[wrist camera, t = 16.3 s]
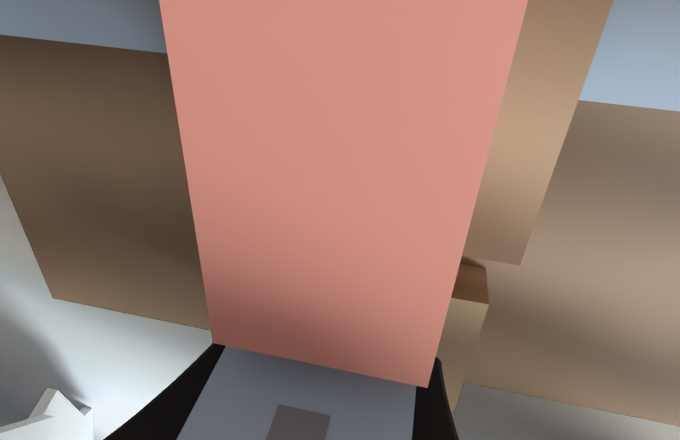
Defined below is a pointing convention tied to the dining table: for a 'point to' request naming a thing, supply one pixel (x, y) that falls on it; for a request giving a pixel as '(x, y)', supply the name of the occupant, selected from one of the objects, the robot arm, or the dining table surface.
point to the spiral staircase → (52, 421)
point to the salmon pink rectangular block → (336, 167)
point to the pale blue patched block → (297, 402)
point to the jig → (486, 223)
